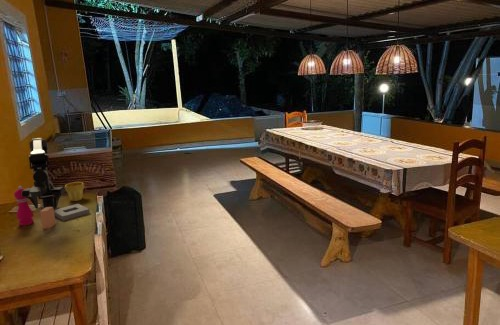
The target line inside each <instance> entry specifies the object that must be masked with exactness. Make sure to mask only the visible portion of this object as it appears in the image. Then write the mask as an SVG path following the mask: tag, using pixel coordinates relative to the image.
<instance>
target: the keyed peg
mask: <svg viewBox="0 0 500 325" xmlns="http://www.w3.org/2000/svg"><path fill="white" fill-rule="evenodd" d="M54 210H55V209H54V208H53V207H46V208H44V209H40V211H39V214H40V220H41V225H42V229H51V228H52V227H53V226H54V225H56V222H57V221H56V216H55V215H54Z"/></svg>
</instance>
